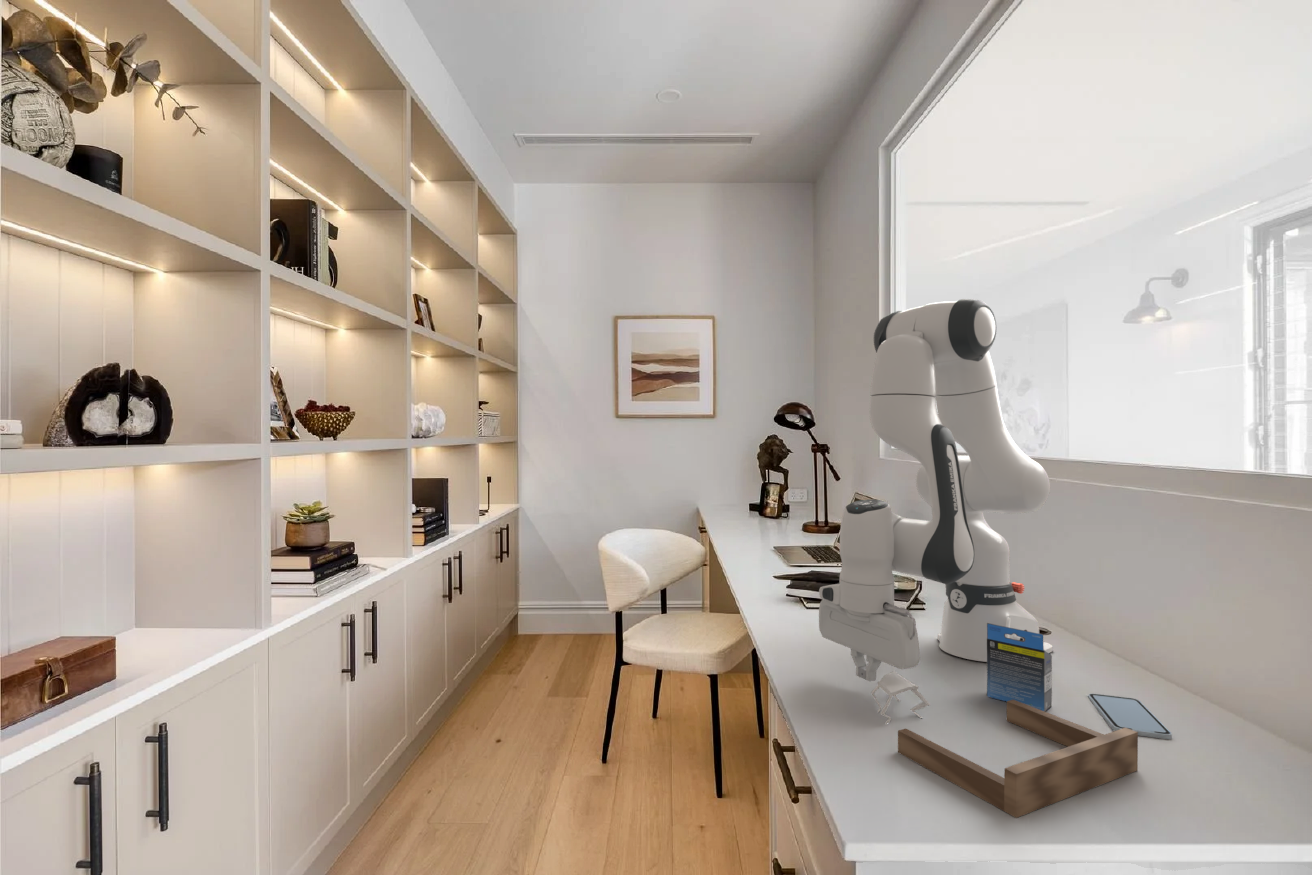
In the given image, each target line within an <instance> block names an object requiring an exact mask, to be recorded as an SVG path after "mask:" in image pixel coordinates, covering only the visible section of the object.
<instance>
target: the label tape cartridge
mask: <svg viewBox="0 0 1312 875" xmlns="http://www.w3.org/2000/svg"><path fill="white" fill-rule="evenodd" d="M1005 634H1009V635H1012V634H1016V635H1017V636H1018V637H1022V638H1023V639H1024V640H1023V641H1020V640H1016V639H1011V638H1006V637H1005ZM1043 641H1044V634H1043V633H1039V634H1038V633H1033V632H1028V631H1023V630H1019V629H1014V628H1009V627H1004V626H999V625H994V624H990V623H987V662H986V695H987V698H990V697H991V698H990V699H994V700H998V701H1001V702H1005V701H1006V703H1007V701H1009V700H1016V701H1018V702H1021V703H1024V704H1026V705H1029V706H1031V707H1034V708H1037V709H1039V710H1042V711H1044V712H1047V711H1048V710H1050V709H1051V707H1052V705H1053V704H1052V701H1053V700H1052V699H1053V690H1052V689H1053V672H1052V671H1053V670H1052V669H1053V662H1052V661H1053V660H1052V659H1053V658H1052V657H1053V656H1052V654H1051V653H1047V652H1046V651H1045V650H1044V646H1043Z"/></svg>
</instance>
